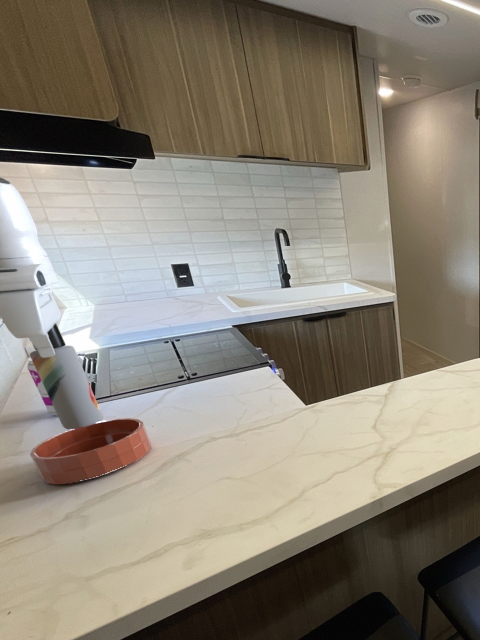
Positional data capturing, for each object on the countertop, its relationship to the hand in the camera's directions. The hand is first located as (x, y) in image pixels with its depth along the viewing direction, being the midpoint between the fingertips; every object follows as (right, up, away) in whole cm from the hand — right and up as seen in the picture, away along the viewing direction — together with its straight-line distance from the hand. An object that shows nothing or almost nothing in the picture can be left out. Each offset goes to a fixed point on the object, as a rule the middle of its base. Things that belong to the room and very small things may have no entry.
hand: (52, 352), depth 74 cm
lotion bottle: (0, -14, +5) cm, 15 cm away
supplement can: (-33, -14, +34) cm, 49 cm away
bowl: (+1, -22, +8) cm, 24 cm away
